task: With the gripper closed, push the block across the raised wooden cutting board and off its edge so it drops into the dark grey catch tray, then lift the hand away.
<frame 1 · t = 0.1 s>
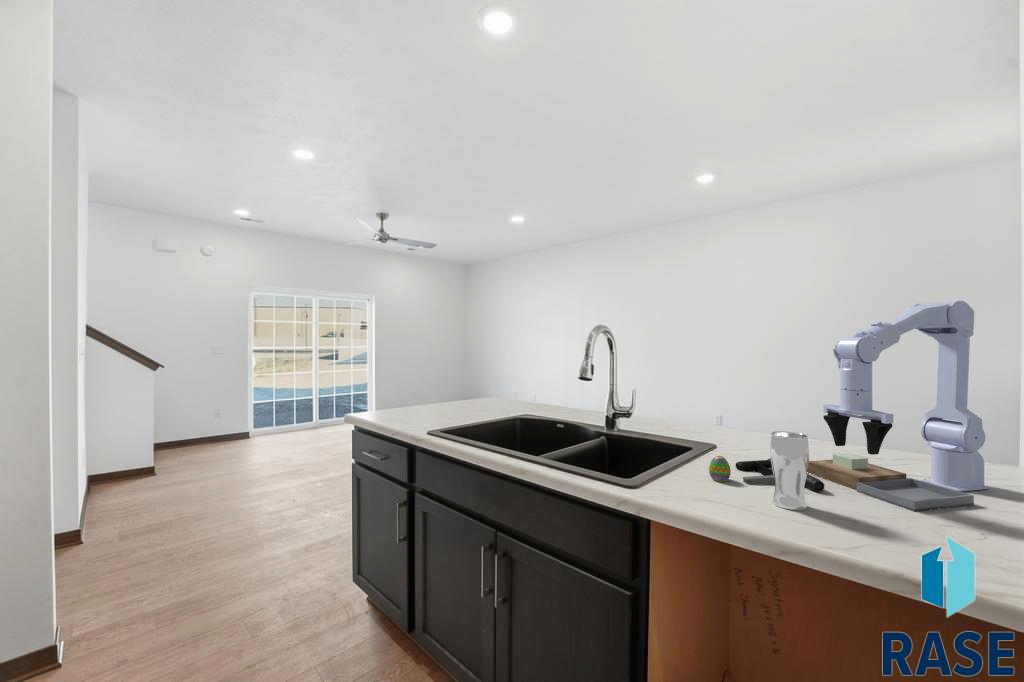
hand: (856, 449, 99), 10 cm above the worktop, tool pointing down, fingers open, 7 cm apart
egg: (719, 480, 109), on the worktop
door handle: (770, 481, 110), on the worktop
block: (850, 466, 110), point 3 cm above the worktop, touching wooden cutting board
catch tray: (912, 497, 97), on the worktop
wooden cutting board: (853, 479, 110), on the worktop
beer glass: (789, 506, 92), on the worktop
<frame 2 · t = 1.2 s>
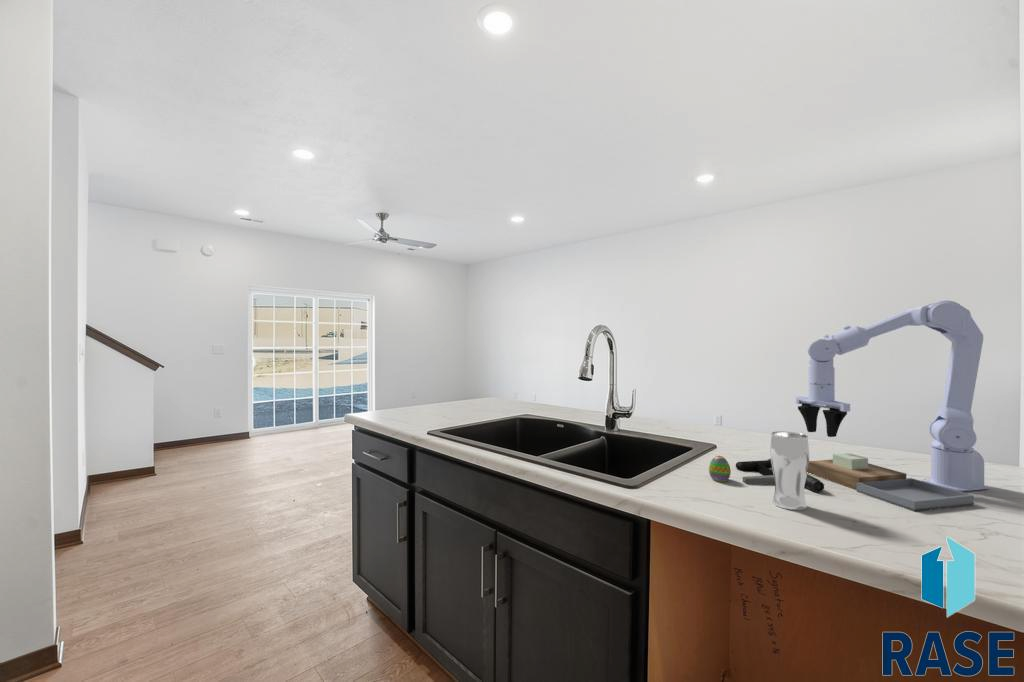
hand: (821, 434, 118), 9 cm above the worktop, tool pointing down, fingers open, 5 cm apart
nothing on the worktop moved.
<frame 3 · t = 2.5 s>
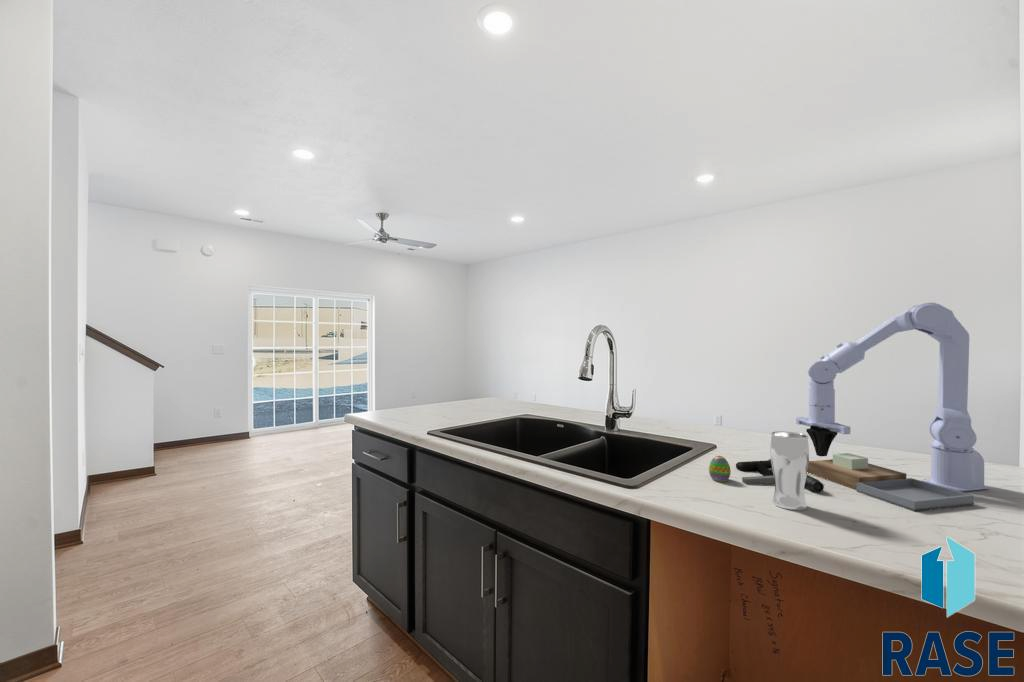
hand: (821, 455, 118), 4 cm above the worktop, tool pointing down, fingers closed
nothing on the worktop moved.
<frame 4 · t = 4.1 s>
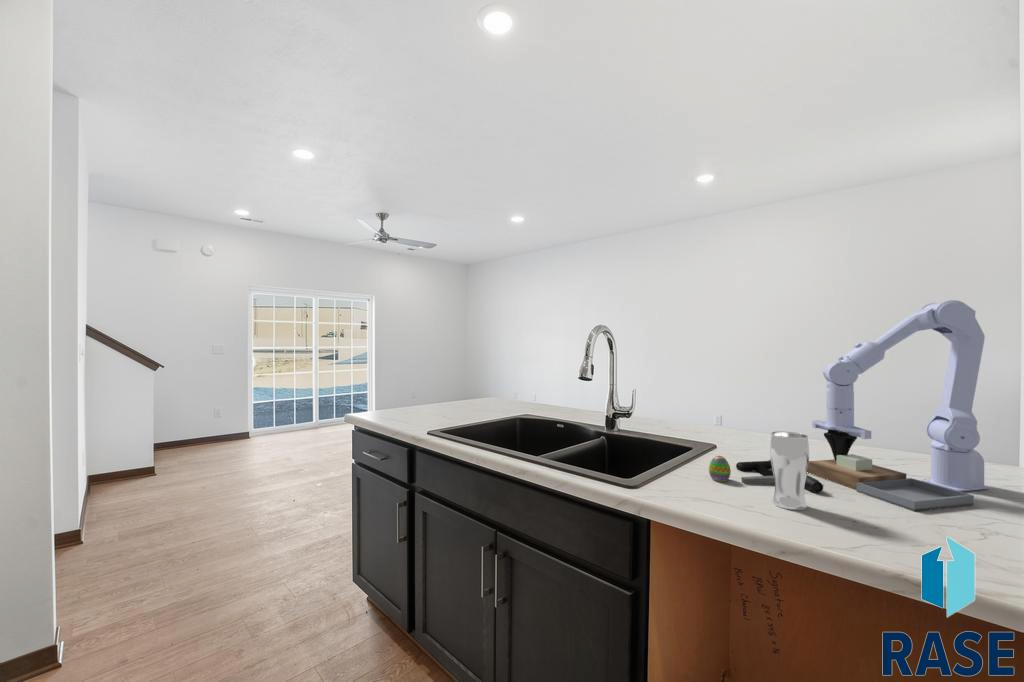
hand: (840, 460, 113), 4 cm above the worktop, tool pointing down, fingers closed
block: (854, 467, 109), point 3 cm above the worktop, touching gripper
everything else where it was.
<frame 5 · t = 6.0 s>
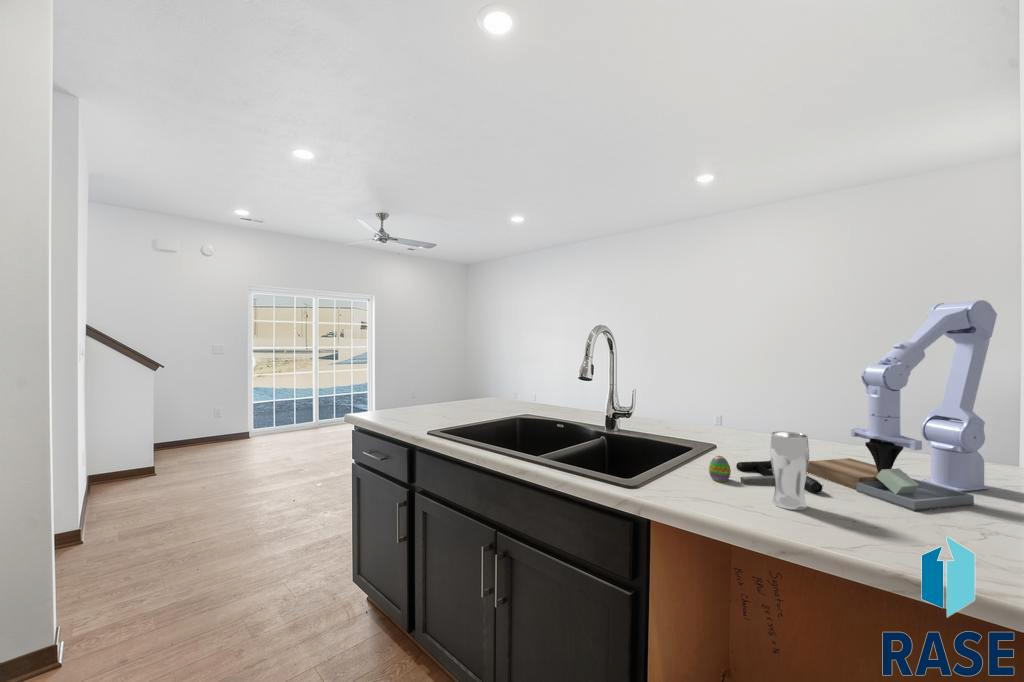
hand: (884, 473, 102), 4 cm above the worktop, tool pointing down, fingers closed
block: (894, 484, 100), point 2 cm above the worktop, tilted 30°, touching gripper
everything else where it was.
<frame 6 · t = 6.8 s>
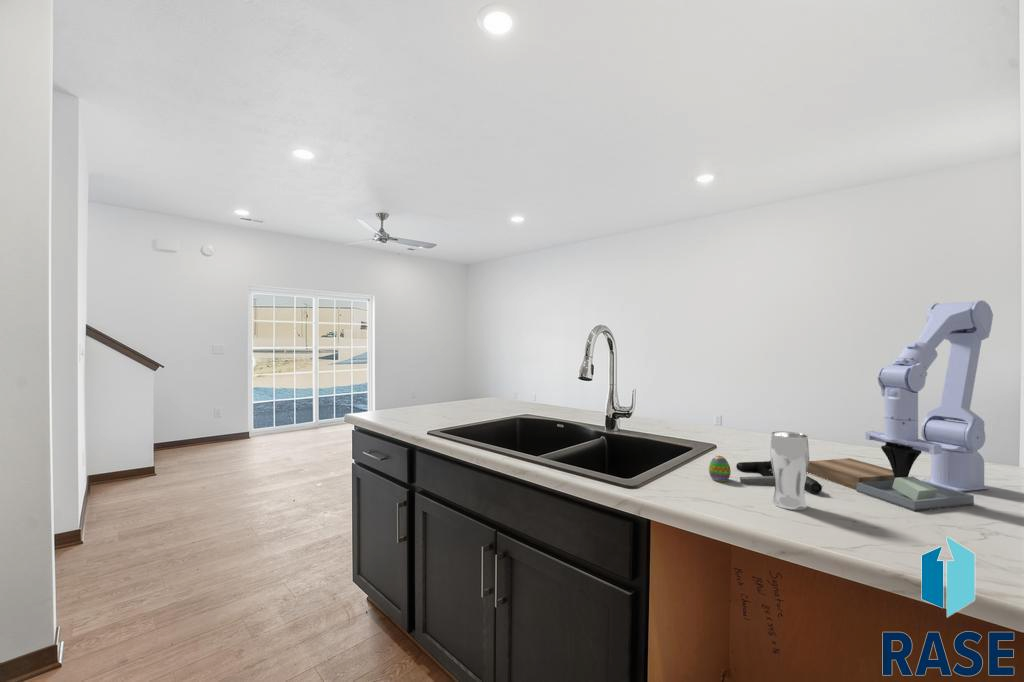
hand: (901, 478, 99), 4 cm above the worktop, tool pointing down, fingers closed
block: (912, 493, 96), point 1 cm above the worktop, tilted 15°, touching catch tray, gripper
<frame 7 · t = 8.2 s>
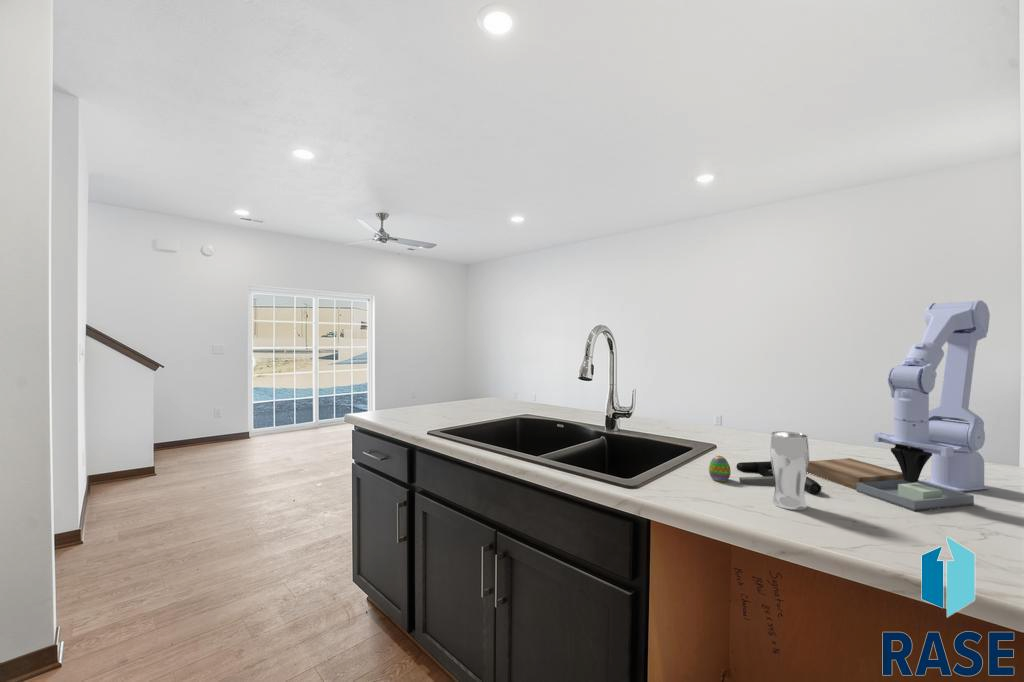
hand: (911, 481, 97), 4 cm above the worktop, tool pointing down, fingers closed
block: (919, 498, 95), resting in catch tray
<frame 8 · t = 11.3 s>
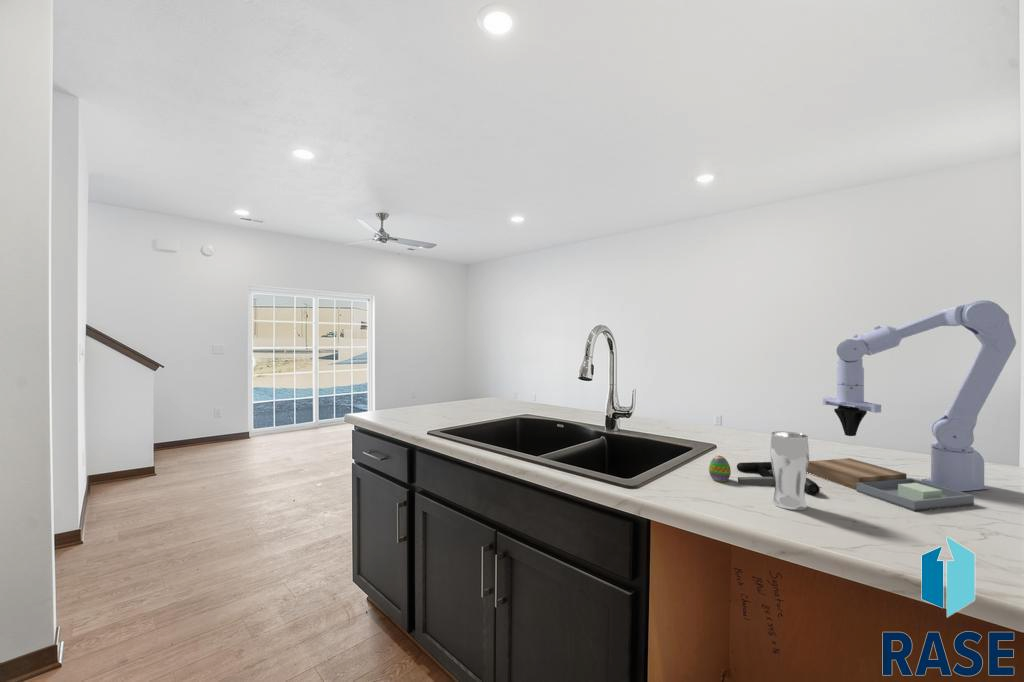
hand: (850, 435, 117), 9 cm above the worktop, tool pointing down, fingers closed
at the end: block inside the target area on the catch tray (1.6 cm from its centre), point 0.4 cm above the catch tray's base; block touching catch tray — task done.
